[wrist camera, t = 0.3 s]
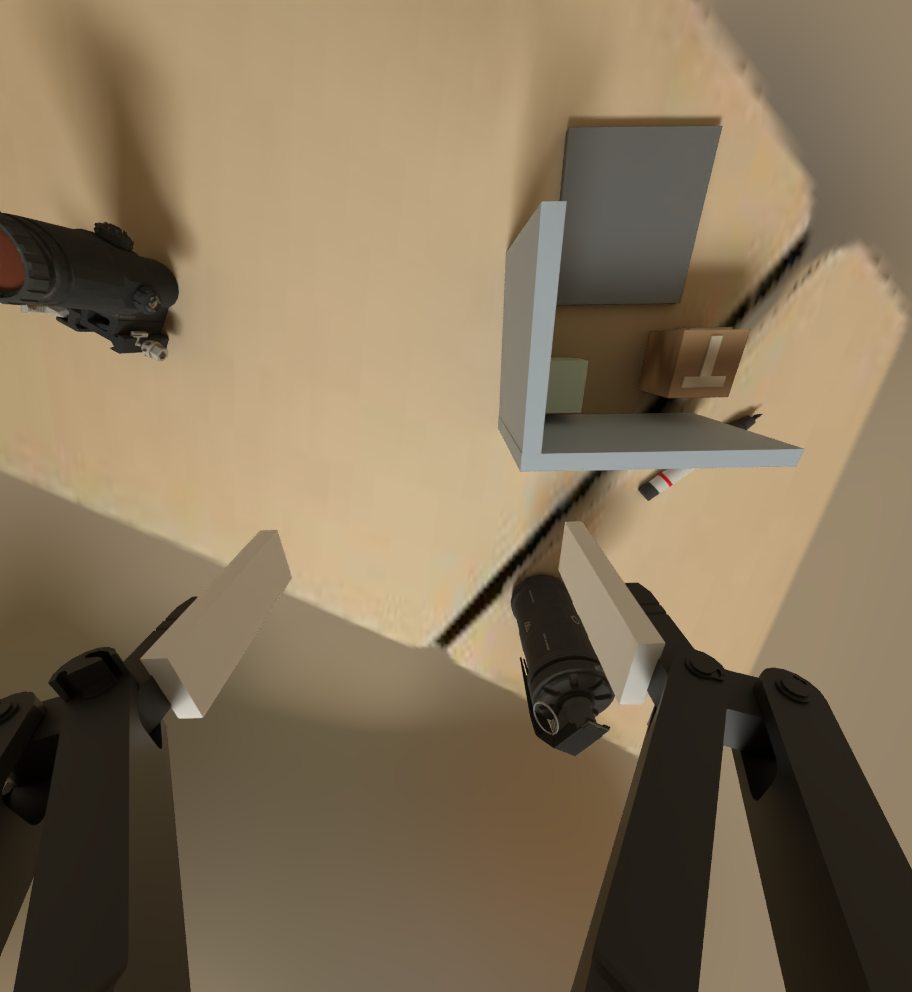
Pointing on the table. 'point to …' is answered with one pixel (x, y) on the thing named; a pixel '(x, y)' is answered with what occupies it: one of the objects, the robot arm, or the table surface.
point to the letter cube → (692, 362)
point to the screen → (593, 435)
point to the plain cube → (566, 385)
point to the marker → (674, 475)
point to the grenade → (559, 666)
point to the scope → (87, 282)
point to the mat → (632, 211)
